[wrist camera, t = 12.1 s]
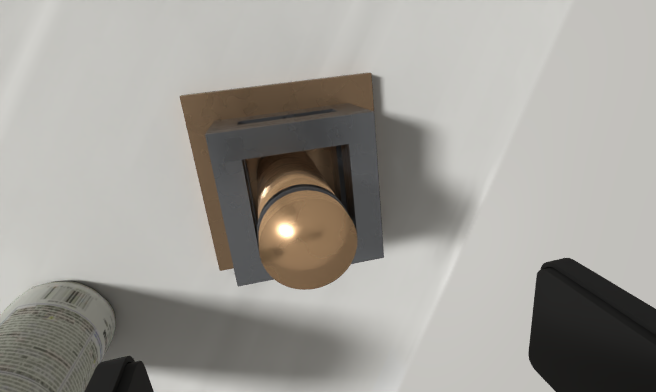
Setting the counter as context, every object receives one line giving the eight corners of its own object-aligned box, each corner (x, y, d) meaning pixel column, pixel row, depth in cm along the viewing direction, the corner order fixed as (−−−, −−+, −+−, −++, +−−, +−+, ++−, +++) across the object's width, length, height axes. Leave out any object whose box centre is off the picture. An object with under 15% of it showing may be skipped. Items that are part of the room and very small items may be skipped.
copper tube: (250, 151, 25) (247, 208, 14) (312, 141, 25) (352, 188, 15) (262, 210, 26) (267, 300, 16) (321, 199, 27) (363, 279, 16)
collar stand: (182, 95, 24) (159, 103, 18) (366, 72, 26) (403, 73, 20) (220, 264, 28) (213, 318, 22) (378, 234, 30) (411, 276, 24)
